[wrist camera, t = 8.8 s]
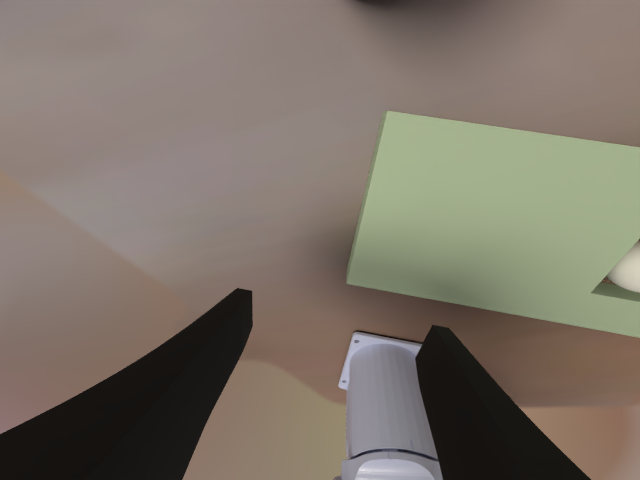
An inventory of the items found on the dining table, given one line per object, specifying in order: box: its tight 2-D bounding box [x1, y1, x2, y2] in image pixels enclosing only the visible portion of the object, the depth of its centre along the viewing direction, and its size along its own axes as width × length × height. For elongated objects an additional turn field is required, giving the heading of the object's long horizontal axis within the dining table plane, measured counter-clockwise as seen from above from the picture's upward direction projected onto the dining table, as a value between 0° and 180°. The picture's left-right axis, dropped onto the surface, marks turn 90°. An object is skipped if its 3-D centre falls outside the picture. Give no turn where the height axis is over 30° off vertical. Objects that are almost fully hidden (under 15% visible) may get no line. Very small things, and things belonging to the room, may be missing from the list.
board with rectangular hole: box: [347, 111, 640, 338], centre depth 13 cm, size 12×24×7 cm, turn 83°
